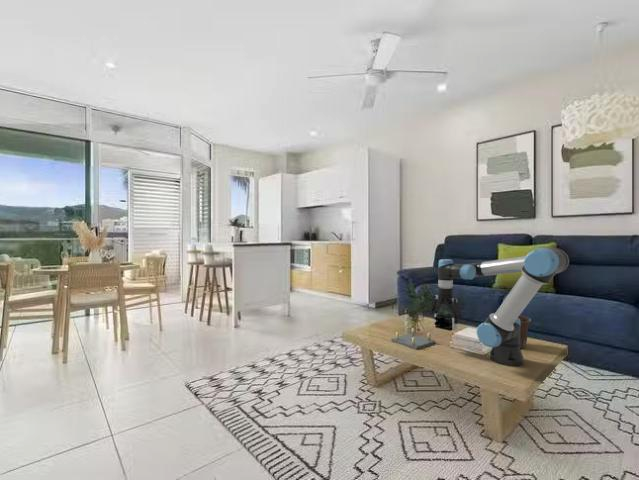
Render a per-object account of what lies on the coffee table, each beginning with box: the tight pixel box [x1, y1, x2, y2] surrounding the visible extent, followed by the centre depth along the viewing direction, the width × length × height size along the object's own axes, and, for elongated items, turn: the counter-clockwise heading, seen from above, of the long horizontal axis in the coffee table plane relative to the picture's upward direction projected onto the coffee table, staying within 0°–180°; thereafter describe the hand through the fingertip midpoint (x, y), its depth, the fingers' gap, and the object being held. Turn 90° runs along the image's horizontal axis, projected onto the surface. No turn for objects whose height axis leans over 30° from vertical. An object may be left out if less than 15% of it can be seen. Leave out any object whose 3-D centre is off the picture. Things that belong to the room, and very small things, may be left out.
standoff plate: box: [390, 327, 436, 351], centre depth 198 cm, size 18×18×6 cm
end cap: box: [434, 313, 458, 331], centre depth 184 cm, size 10×7×7 cm
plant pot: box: [518, 315, 532, 349], centre depth 193 cm, size 16×16×16 cm
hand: (445, 327), depth 184 cm, fingers closed on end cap, 10 cm apart
